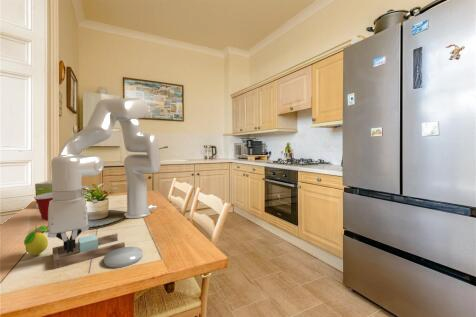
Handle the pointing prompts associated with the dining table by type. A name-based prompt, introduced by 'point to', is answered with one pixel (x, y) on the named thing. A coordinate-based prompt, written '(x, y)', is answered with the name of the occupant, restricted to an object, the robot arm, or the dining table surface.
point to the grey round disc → (122, 257)
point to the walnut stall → (85, 255)
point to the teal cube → (87, 243)
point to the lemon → (36, 241)
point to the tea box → (43, 188)
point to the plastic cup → (44, 204)
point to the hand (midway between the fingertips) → (69, 251)
